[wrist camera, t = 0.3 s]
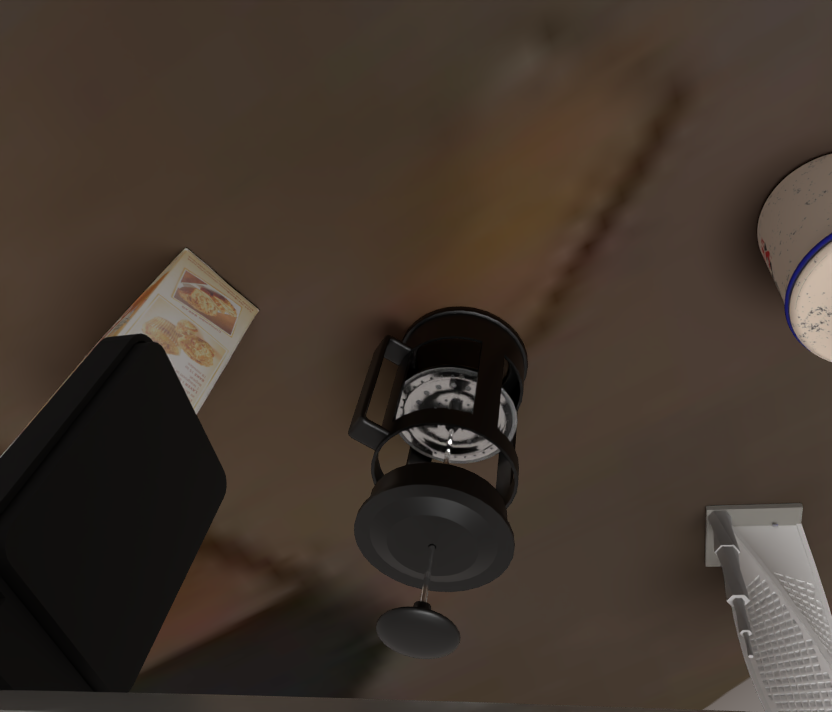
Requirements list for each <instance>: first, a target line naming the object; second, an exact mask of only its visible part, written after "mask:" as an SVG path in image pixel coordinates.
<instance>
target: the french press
mask: <svg viewBox="0 0 832 712" xmlns="http://www.w3.org/2000/svg"><path fill="white" fill-rule="evenodd" d="M455 338H458V339H466V340H472V341H475V342H479V343H482V345H481V352H480V360H479V367H478V369H476V368H472V367H468V366H463V365H438V366H433V367H429V368H426V369H423V370H420V371H419V370H418V368H417V362H416V355H417V351H418V349H419V347H421V346H423V345H425V344H428V343H430V342H432V341H437V340H442V339H455ZM383 358H386V359H388V360H389V361H391V362H393V363H395V364H397V365H398V369H397V373H396V377H395V380H394V384H393V388H392V391H391V395H390V398H389V402H388V406H387V409H386V413H385V416H384V420H383V424H382V426H380V425H378V424H376V423H374V422H373V421H371V420H369V419H368V418H367V417H366V413H367V410H368V407H369V403H370V400H371V397H372V394H373V390H374V387H375V384H376V381H377V377H378V374H379V371H380V368H381V364H382V361H383ZM504 358H505V359H506V360H507V361H508V362H509V365H510V369H509V374H508V376H507V378H506V380H505V381H504V383H503V384H502V377H503V367H504ZM527 368H528V361H527V353H526V350H525V347H524V344H523V342H522V341H521V339H520V337H519V336H518V334H517V333H516V332H515V331H514V330H513V329H512V327H511V326H510V325H508V324H507V323H506V322H504V321H503V320H502V319H500V318H499V317H497V316H495V315H492V314H490V313H488V312H485V311H482V310H478V309H475V308H467V307H450V308H445V309H440V310H436V311H434V312H431V313H429V314H427V315H425V316H423V317H422V318H420V319H419V320H418V321H416V322H415V323H414V324H413V325H412V326H411V327H410V328H409V329H408V331H407V333H406V334H405V336H404V338H403V340H402V342H401V341H400V340H398V339H396V338H394V337H393V336H391V335H387V336H385V338H384V339H383V340H382V342H381V343H380V344H379V346H378V347H377V349H376V350H375V352H374V355H373V358H372V361H371V364H370V367H369V370H368V373H367V376H366V379H365V382H364V385H363V388H362V391H361V394H360V397H359V400H358V403H357V406H356V409H355V412H354V415H353V419H352V422H351V425H350V428H349V431H348V434H349V436H350V437H351V438H353V439H355V440H357V441H358V442H360V443H362V444H364V445H366V446H368V447H370V448H372V449H373V450H375V452H374V456H373V459H372V463H371V474H372V478H373V482H374V484H375V486H374V488H373V489H372V492H371V495H370V497H369V498H368V499H367V500H366V501H365V502H364V503H363V505H362V506H361V508H360V509H359V511H358V514H357V517H356V520H355V524H354V535H355V539H356V542H357V545H358V547H359V549H360V550H361V552H362V554H363V555H364V557H365V558H366V559H367V560H368V561H369V562H370V563H371V564H372V565H373V566H374V567H375V568H377V569H378V570H379V571H380V572H382V573H383V574H385V575H387V576H389V577H390V578H392V579H394V580H396V581H398V582H401V583H403V584H406V585H408V586H412V587H416V588H419V589H422V592H421V597H420V601H417V602H415V603H414V606H413V607H399V608H395V609H392V610H389V611H387V612H385V613H384V614H383V615H381V617H380V618H379V619H378V621H377V624H376V631H377V634H378V636H379V638H380V639H381V641H382V642H383V643H384V644H385V645H386V646H388V647H389V648H390V649H392V650H394V651H396V652H398V653H400V654H403V655H405V656H409V657H413V658H419V659H434V658H440V657H444V656H446V655H449V654H450V653H452V652H453V651H454V650H455V649H456V648H457V647H458V645H459V643H460V633H459V631H458V629H457V627H456V626H455V625H454V624H453V622H452V621H450V620H449V619H448V618H447V617H445V616H443V615H441V614H440V613H437V612H435V611H432V610H431V606H430V604H429V603H427V596H428V590H430V591H439V592H455V591H465V590H469V589H473V588H478V587H480V586H483V585H485V584H487V583H490V582H491V581H493V580H494V579H496V578H497V577H499V576H500V575H501V574H502V573H503V572H504V571H505V570H506V569H507V568H508V566H509V564H510V562H511V560H512V558H513V553H514V547H515V543H514V534H513V531H512V529H511V526H510V524H509V522H508V521H507V510H506V509H507V508H508V507H509V505H510V504H511V503H512V501H513V499H514V497H515V495H516V492H517V486H518V475H519V464H518V457H517V454H516V451H515V443H516V427H517V412H518V409H519V406H520V404H521V402H522V396H523V385H524V380H525V378H526V374H527ZM398 433H399V435H400V436H401V437H402V438H403V440H404V441H405V442H406V443H407V444H409V445H410V450H409V454H408V459H407V463H406V465H405V466H402V467H399V468H396V469H394V470H392V471H390V472H389V473H387V474H385V475H384V474H383V472H382V470H381V468H380V464H379V460H378V452H379V451H380V449H381V447H382V446H383V445H384V444H385V443H386V442H387V441H388V440H389V439H390V438H392V437H393V436H395V435H397V434H398ZM497 453H499V460H498V471H497V482H496V489H495V488H494V487H493V486H492V485H491V484H490V483H489V482H488V481H486V480H485V479H483V478H481V477H480V476H478V475H477V474H475V473H473V472H470V471H468V470H466V469H464V468H460V467H457V466H453V465H450V464H449V463H472V462H478V461H481V460H484V459H488V458H490V457H492V456H494V455H496V454H497ZM432 459H436V460H439V461H443V463H435V462H431V461H432ZM513 475H514V479H513Z"/></svg>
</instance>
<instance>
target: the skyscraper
mask: <svg viewBox="0 0 832 712" xmlns="http://www.w3.org/2000/svg"><path fill="white" fill-rule="evenodd" d="M802 510H803V506H802V503H789V504H754V505H720V506H706V538H705V565H706V567H715V566H722V570H723V575H724V583H725V591H726V600H727V602H728V603H729V604H730V605H731V607H732V612H733V617H734V621H735V626H736V630H737V634H738V638H739V642H740V645H741V649H742V652H743V656H744V659H745V662H746V665H747V668H748V671H749V674H750V677H751V679H752V682H753V684H754V687H755V690H756V692H757V695H758V697H759V699H760V702H761V704H762V706H763V708H764V711H765V712H832V616H831V612H830V609H829V606H828V602H827V599H826V596H825V593H824V590H823V587H822V584H821V580H820V577H819V574H818V571H817V568H816V565H815V562H814V559H813V556H812V554H811V551H810V548H809V545H808V542H807V539H806V536H805V533H804V530H803V527H802V524H801V518H802Z"/></svg>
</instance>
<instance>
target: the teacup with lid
mask: <svg viewBox="0 0 832 712" xmlns="http://www.w3.org/2000/svg"><path fill="white" fill-rule="evenodd" d="M757 238H758V244H759V248H760V251H761V253H762V255H763V258H764V260H765V262H766V264H767V266H768V269H769V271H770V273H771V275H772V278H773V280H774V282H775V284H776V286H777V289H778V291H779V293H780V295H781V298H782V300H783V302H784V304H785V315H786V319H787V323H788V325H789V328H790V330H791V331H792V333H793V335H794V336H795V337H796V339H797V340H798V341H799V342H800V343H801V344H802V345H803V346H804V347H805V348H807V349H808V350H809V351H811V352H812V353H814V354H815V355H817V356H819V357H821V358H823V359H825V360H827V361H830V362H832V154H828V155H825V156H822V157H819V158H817V159H814V160H812V161H810V162H808V163H806V164H804V165H802V166H801V167H799V168H798V169H796V170H795V171H793V172H792V173H791V174H789V175H788V176H787V177H786V178H785V179H783V180H782V181H781V182H780V183H779V184H778V185H777V187H776V188H775V189H774V190H773V191H772V193H771V194H770V196H769V197H768V199H767V201H766V202H765V204H764V206H763V209H762V211H761V214H760V217H759V221H758V228H757Z"/></svg>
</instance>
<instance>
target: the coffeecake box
mask: <svg viewBox="0 0 832 712" xmlns="http://www.w3.org/2000/svg"><path fill="white" fill-rule="evenodd" d="M258 312H259V309H258V308H256V307H255V306H254V305H253V304H252V303H250V302H249V301H248V300H247V299H246V298H244V297H243V296H242V295H241V294H239V293H238V292H237V291H236V290H234V289H233V288H232V287H231V286H230V285H228V284H227V283H226V282H225V281H224V280H223V279H222V278H221V277H220V276H219V275H218V274H217V273H215V272H214V271H213V270H212V269H211V268H210V267H209V266H208V265H207V264H206V263H204V262H203V261H202V260H201V259H199V258H198V257H197V256H196V255H195V254H193V253H192V252H191V251H190V250H189V249H188V248H185V249H184V250H183V251H182V252H181V253H180V254H179V255H178V256H177V257H176V258H175V259H174V260H173V261H172V262H171V263H170V264H169V265H168V266H167V267H166V269H165V270H164V271H163V272H162V273H161V274H160V275H159V276H158V277H157V278H156V279H155V280H154V282H153V283H152V284H151V285H150V286H149V287H148V288H147V289H146V290H145V291H144V292H143V293H142V295H141V296H140V297H139V298H138V299H137V300H136V301H135V302H134V303H133V304H132V305H131V306H130V307H129V309H128V310H127V311H126V312H125V313H124V314H123V315H122V316H121V317H120V318H119V319H118V321H117V322H116V323H115V324H114V325H113V326H112V327H111V328H110V329H109V330H108V332H107V333H106V334H105V335H104V336H103V337H102V338H101V339H100V340H99V342H100V341H101V340H102V339H104V338H106V337H112V336H121V335H131V334H140V333H142V334H145V335H147V336H148V337H150V338H151V339H152V341H153V342H157V343H159V344H160V345H161V346H162V347H163V348H164V350H165V352H166V354H167V356H168V358H169V360H170V362H171V364H172V366H173V368H174V370H175V372H176V374H177V376H178V378H179V380H180V382H181V384H182V386H183V388H184V390H185V392H186V394H187V397H188V399H189V401H190V403H191V405H192V407H193V409H194V411H195V413H196V415H197V413H198V412H199V410H200V408H201V406H202V405H203V403H204V401H205V400H206V398H207V396H208V395H209V393H210V391H211V390H212V388H213V386H214V385H215V383H216V381H217V380H218V378H219V376H220V375H221V373H222V371H223V370H224V368H225V366H226V365H227V363H228V361H229V360H230V358H231V356H232V354H233V353H234V351H235V349H236V347H237V346H238V344H239V342H240V340H241V339H242V337H243V335H244V334H245V332H246V330H247V329H248V327H249V325H250V324H251V322H252V320H253V319H254V317H255V316H256V314H257V313H258ZM99 342H98V343H99ZM98 343H97V344H98ZM97 344H96V345H97ZM96 345H95V346H94V347H93V348H92V350H93V349H94V348H95V347H96ZM92 350H91V351H92ZM91 351H90V352H91ZM90 352H89V353H88V354H87V355H86V356H85V357H84V359H85V358H86V357H87V356H88V355H89V354H90ZM84 359H83V360H82V361H81V362H80V364H81V363H82V362H83V361H84ZM80 364H79V365H80ZM79 365H78V366H79ZM78 366H77V367H76V368H75V370H76V369H77V368H78ZM75 370H74V371H75ZM74 371H73V372H74ZM73 372H72V373H73ZM72 373H71V374H70V376H71V375H72ZM70 376H69V377H70ZM69 377H68V378H69ZM68 378H67V379H68ZM67 379H66V380H67ZM66 380H65V381H64V383H65V382H66ZM64 383H63V384H64ZM63 384H62V385H63ZM62 385H61V386H62ZM61 386H60V387H61ZM60 387H59V389H60ZM59 389H58V390H59ZM58 390H57V391H58ZM57 391H56V392H57ZM56 392H55V393H56ZM55 393H54V394H53V396H54V395H55ZM53 396H52V397H53ZM52 397H51V398H52ZM51 398H50V399H51ZM50 399H49V400H50ZM49 400H48V402H49ZM48 402H47V403H48ZM47 403H46V404H47ZM46 404H45V405H46ZM45 405H44V406H45ZM44 406H43V407H44ZM43 407H42V409H43ZM42 409H41V410H42ZM41 410H40V411H41ZM40 411H39V412H40ZM39 412H38V413H39ZM38 413H37V414H38ZM36 416H37V415H36ZM36 416H35V417H36ZM35 417H34V418H35ZM34 418H33V419H34ZM33 419H32V420H33ZM32 420H31V421H32ZM30 423H31V422H30ZM30 423H29V424H30ZM29 424H28V425H29ZM28 425H27V426H28ZM27 426H26V427H27ZM26 427H25V428H26ZM24 430H25V429H24ZM24 430H23V431H24ZM23 431H22V432H23ZM22 432H21V433H22ZM21 433H20V434H21ZM20 434H19V435H20ZM18 437H19V436H18ZM18 437H17V438H18ZM17 438H16V439H17ZM16 439H15V440H16ZM15 440H14V441H15ZM14 441H13V443H14ZM13 443H12V444H13ZM12 444H11V445H12ZM11 445H10V446H11ZM10 446H9V447H10ZM9 447H8V448H9ZM8 448H7V450H8ZM7 450H6V451H7ZM6 451H5V452H6ZM5 452H4V453H5ZM4 453H3V454H4ZM3 454H2V455H3ZM1 457H2V456H1ZM1 457H0V458H1Z"/></svg>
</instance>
